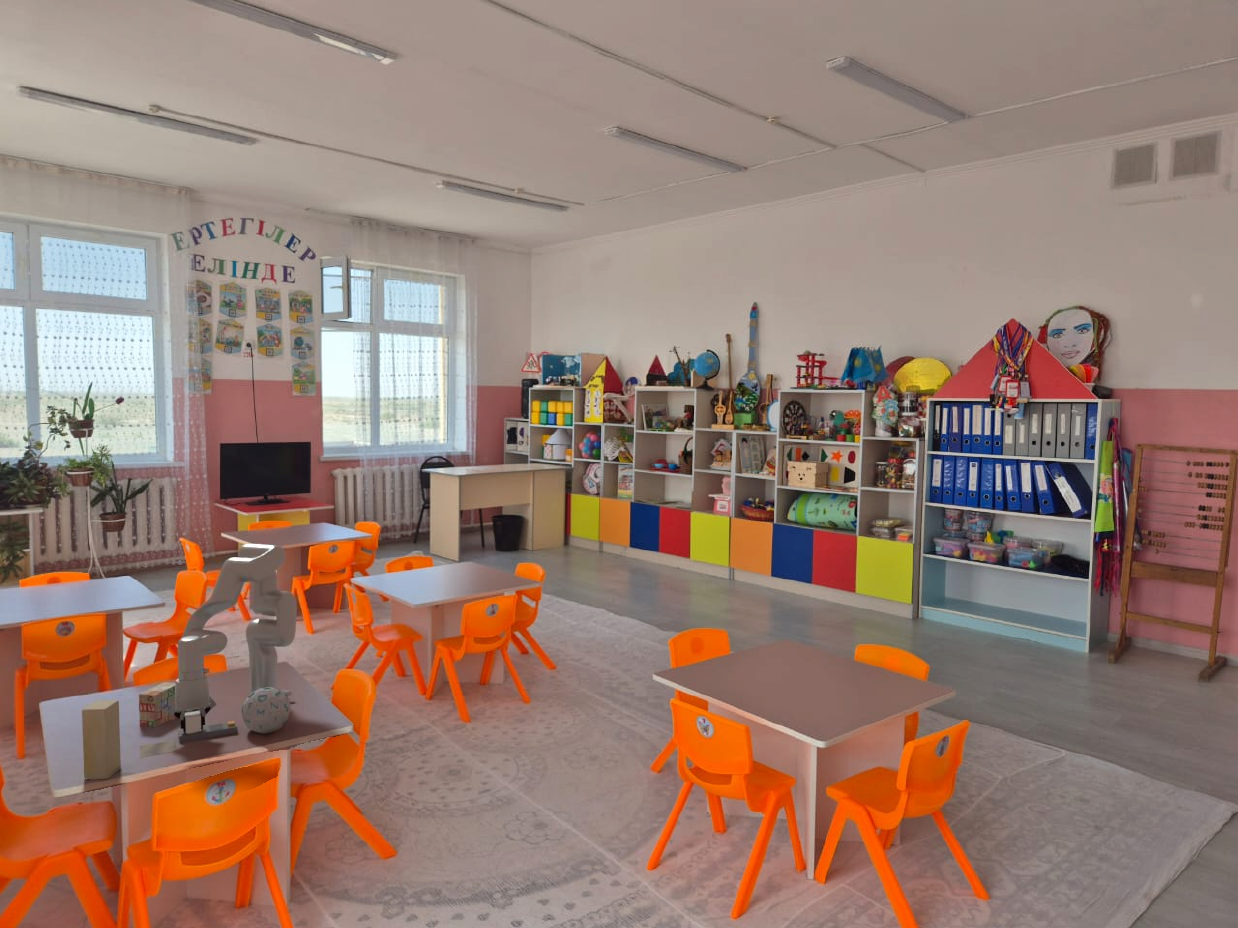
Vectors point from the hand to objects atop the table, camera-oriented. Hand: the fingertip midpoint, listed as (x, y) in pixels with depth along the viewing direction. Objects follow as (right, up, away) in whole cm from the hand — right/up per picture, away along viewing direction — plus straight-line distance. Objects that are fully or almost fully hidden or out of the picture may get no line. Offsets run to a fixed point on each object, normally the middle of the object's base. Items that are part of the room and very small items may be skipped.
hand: (193, 728), depth 271 cm
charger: (0, -2, 0) cm, 2 cm away
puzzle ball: (+21, -4, +8) cm, 23 cm away
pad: (-6, -4, -9) cm, 12 cm away
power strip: (+4, -4, +2) cm, 6 cm away
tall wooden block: (-14, -6, -26) cm, 30 cm away
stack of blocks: (-18, -3, +19) cm, 26 cm away
